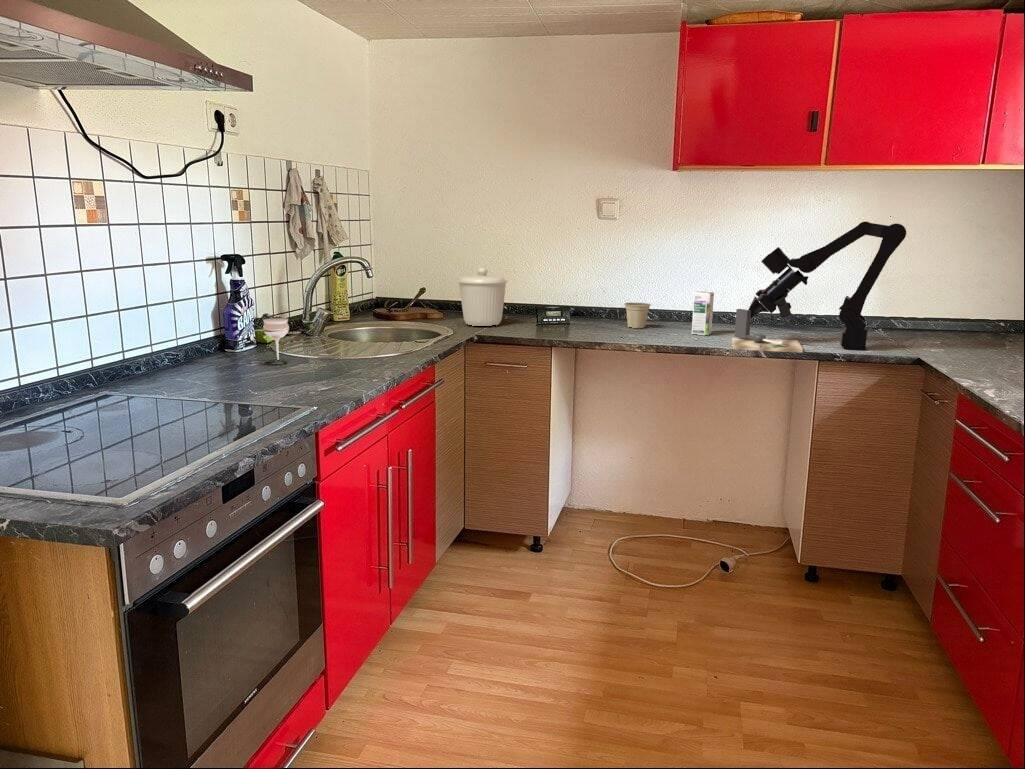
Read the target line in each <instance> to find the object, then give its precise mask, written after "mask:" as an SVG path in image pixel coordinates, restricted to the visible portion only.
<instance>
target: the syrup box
mask: <svg viewBox="0 0 1025 769" xmlns="http://www.w3.org/2000/svg"><path fill="white" fill-rule="evenodd" d="M714 300H715V291H695V292H693V300H692V301H693V302H692V321H691V322H692V323H691V335H692V334H697V336H705V335H708V336H709V334H710V335H711V334H712V328H713V327H712V326H713V316H714V314H713V313H714V312H713V311H714Z"/></svg>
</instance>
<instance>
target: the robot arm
mask: <svg viewBox="0 0 1025 769" xmlns="http://www.w3.org/2000/svg"><path fill="white" fill-rule="evenodd" d="M864 236H870V237H876V238H879V239H880V238H881V241H880V245H879V246H878V247H879V248H878V251H877V253H876V254H875V256H874V258H873V259H872V262H871V264H869V265H870V266H869V267H868V269H867V271H866V272H865V274H864V276H863V278H862V280H861V281H860V283H859V285H858V287H857V289H856V290H855V292H854V293H853V294H852V295H851V297H850V296H849V295H846V296H845V297H844V301H843V303H842V305H840V306H839V308H838V310H839V312H838V313H839V314H838V315H839V320H840V321H841V323H844V325H845V326H844V327H843V331H841V333H840V336H841V337H840V346H841V348H842V349H843V350H857V351H859V350H860V351H867V350H868V349H867V346H866V345H867V337H868V328H866V326H867V324H868V320H867V319H866V318H865V317H864V316H863V315H862V311H863V308H864V307H865V306H864V305H865V303H866V299H867V297H868V295H869V293H870V292H871V290H872V289H873V287H874V285H875V283H876V281H877V280H878V278H879V276H880V274H881V273H882V271H883V269H884V267H885V265H886V264H887V262H888V261H889V258H890V257H891V256H892V254H893V253H895V251H896V250H897V248H898V247H899V246H900V245H901V243H903V241H904V240H905V238H906V237H907V230H906V227H905V226H904V224H903V225H902V224H901V223H893V224H890V225H886V224H881V223H873V222H869V221H866V220H865V221H861V222H860V223H859V224H858V225H856V226H855V227H853V228H852V229H850V230H849V231H847V232H845V233H844V234H842V235H840V236H839V237H837V238H836V239H834V240H832V241H831V242H829V243H828V244H826V245H825V246H822V247H820V248H818V249H815V250H813V251H810V252H807V253H806V254H802V255H801V256H800V257H799V258H794V257H792V258H790V257H789V256H787V254H785V252H784V251H783V250H782V248H781V247H779V246H778V247H776V248H775V249H774V250H772V252H771V253H768V254H767V255H765V257H764V258H763V259H762V260H761V263H762V264H763V265H764V267H766V268H767V269H768V270H769V271H770V273H772V274H773V275H775V274H777V275H780V274H781V273H782V272H783V271H784V272H783V273H782V274H781V275H780V276H779V277H777V278H776V279H775V280H773V281H771V284H769V285H768V286H767V287H766V288H765V289H764V288H763V289H759V290H758V291H756V292H755V295H756V296H754V297H753V300H752V302H751V303H750V306H749V308H748V309H747V310H751V318H753V317H755V316H757V315H758V314H760V313H770V314H773V313H774V312H775V311H776V310H777V309H778V311H779V315H780V317H781V319H785V318H787V317H790V316H791V315H793V314H792V311H791V308H792V305H791V303H790V302H789V301H788V302H787V300H786V298H787V297H788V296H789V295H788V294H789V293H790V292H791V291H793V289H795V288H796V287H797V286H798V285H799V284H800V283H803V284H804V285H805V286H807V285H808V279H809V276H808V275H806V276H805V275H804V274H810V273H812V272H814V271H815V270H816V269H818V268H819V267H820V266H821V265H823V263H824V262H826V261H827V260H828V259H829V258H830V257H832V256H833V255H836V253H838V252H840V251H841V250H843V249H845V248H847V247H848V246H849V245H851V244H853V243H854V242H856V241H857V240H859V239H861V238H862V237H864ZM786 268H787V269H786ZM793 268H796V269H797V270H793Z"/></svg>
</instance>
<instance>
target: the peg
mask: <svg viewBox="0 0 1025 769" xmlns="http://www.w3.org/2000/svg"><path fill="white" fill-rule="evenodd" d="M751 319H752V317H751V310H748V309H743V308H736V312H735V327H734V328H735V329H734V338H743V339H754V340H753V341H754V342H765V341H767V342H771V343H776V344H779V345H783V342H782V341H780V342H778V341H774V340H769V339H770V338H767V335H766V334H762V333H761V334H760V333H755V334H753V335H752V334H750V331H751Z"/></svg>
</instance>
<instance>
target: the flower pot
mask: <svg viewBox="0 0 1025 769" xmlns="http://www.w3.org/2000/svg"><path fill="white" fill-rule="evenodd" d="M650 306H652V304H651V303H647V302H624V307H625V310H626V320H627V321H626V322H627V328H629V327H632V328H631V329H634V328H637V329H640V328H643V329H645V328H646V324H647V319H648V314H649V313H648V312H649V310H650ZM644 327H645V328H644Z"/></svg>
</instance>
